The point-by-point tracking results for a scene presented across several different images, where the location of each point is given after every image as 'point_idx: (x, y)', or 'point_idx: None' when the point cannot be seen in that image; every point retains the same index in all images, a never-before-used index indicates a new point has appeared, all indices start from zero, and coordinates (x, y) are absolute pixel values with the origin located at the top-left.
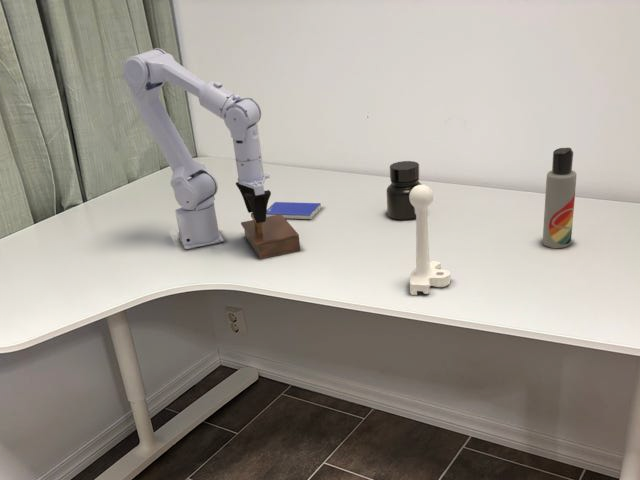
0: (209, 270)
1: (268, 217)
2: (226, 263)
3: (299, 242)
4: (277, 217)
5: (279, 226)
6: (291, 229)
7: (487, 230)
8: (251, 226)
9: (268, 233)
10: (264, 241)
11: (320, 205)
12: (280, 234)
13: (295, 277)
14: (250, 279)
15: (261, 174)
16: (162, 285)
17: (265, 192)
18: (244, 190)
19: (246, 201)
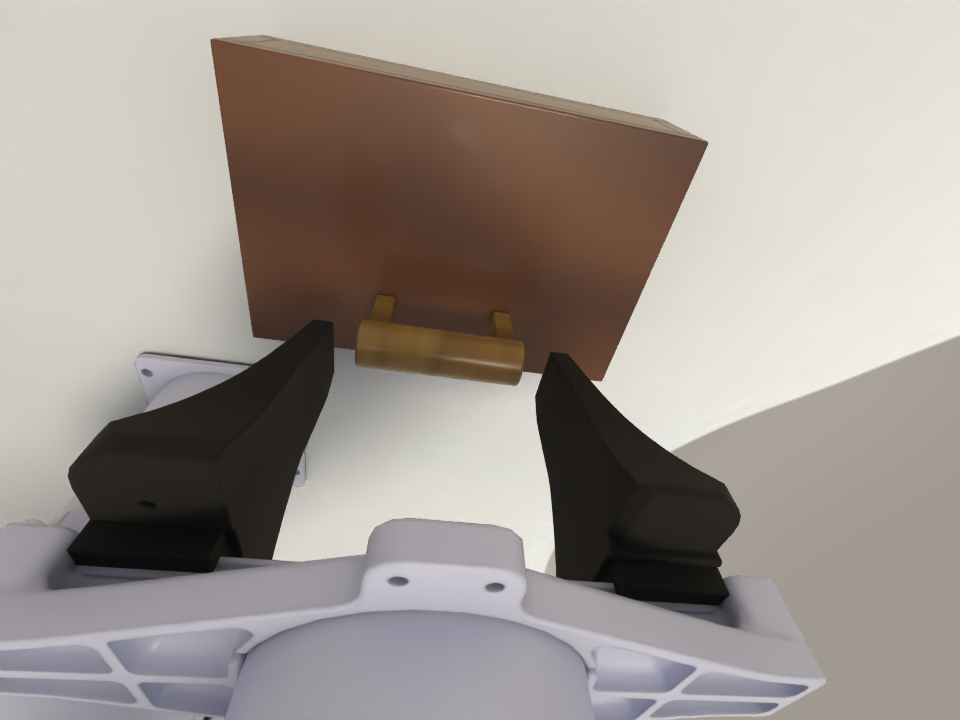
0: (531, 470)
1: (244, 166)
2: (518, 422)
3: (683, 130)
4: (279, 107)
5: (473, 183)
6: (590, 140)
7: None
8: (357, 317)
9: (534, 288)
10: (616, 344)
11: None
12: (605, 240)
13: (870, 286)
14: (711, 408)
15: (582, 716)
16: (529, 559)
17: (686, 533)
18: (274, 515)
19: (306, 433)
